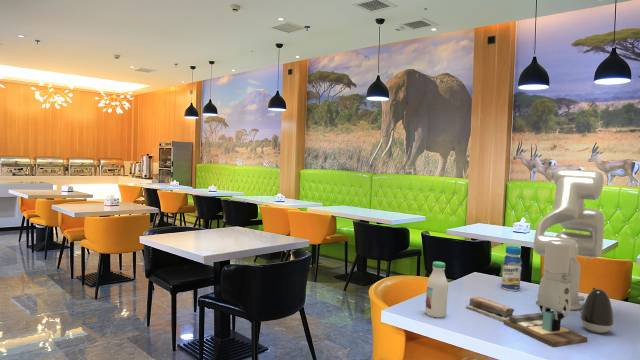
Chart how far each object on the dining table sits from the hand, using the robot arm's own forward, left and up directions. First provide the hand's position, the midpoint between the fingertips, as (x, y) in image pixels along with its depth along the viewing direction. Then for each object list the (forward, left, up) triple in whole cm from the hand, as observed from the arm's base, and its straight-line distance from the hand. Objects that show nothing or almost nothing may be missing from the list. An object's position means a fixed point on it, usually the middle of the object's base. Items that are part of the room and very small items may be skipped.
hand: (551, 327), depth 158 cm
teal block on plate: (0, -1, -1) cm, 1 cm away
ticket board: (0, -3, -3) cm, 4 cm away
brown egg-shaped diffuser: (-22, +1, -3) cm, 22 cm away
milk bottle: (+27, -28, -3) cm, 39 cm away
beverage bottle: (-33, -50, -3) cm, 60 cm away
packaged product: (+3, -24, -3) cm, 25 cm away
